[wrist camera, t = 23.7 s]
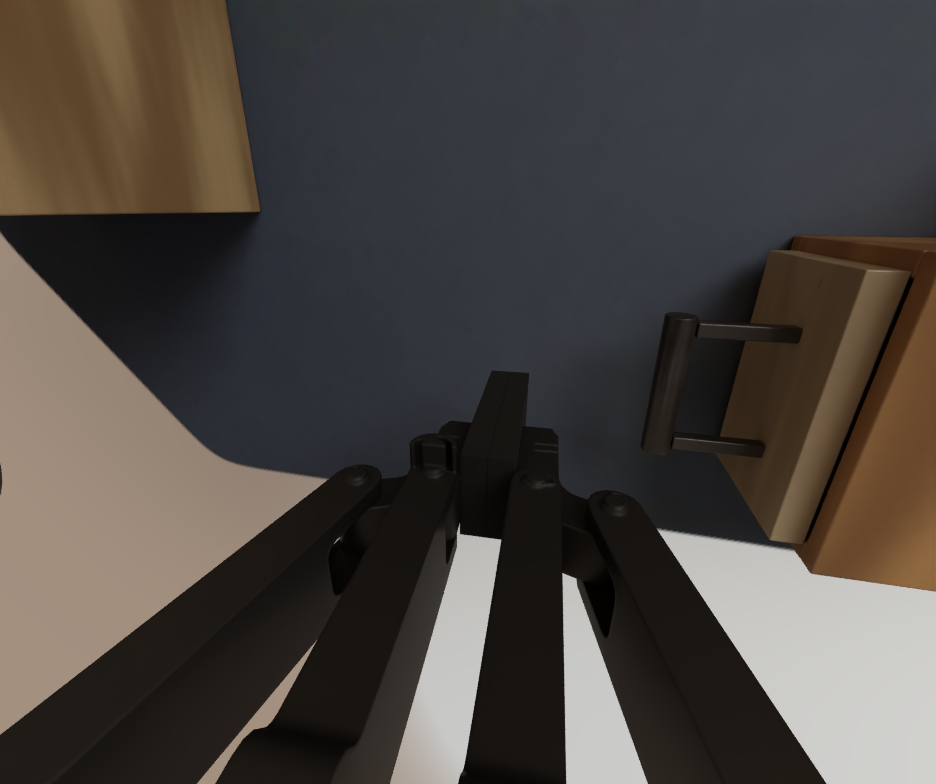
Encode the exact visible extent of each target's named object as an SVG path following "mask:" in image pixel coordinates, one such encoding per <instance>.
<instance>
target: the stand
mask: <svg viewBox="0 0 936 784" xmlns="http://www.w3.org/2000/svg"><path fill="white" fill-rule="evenodd" d="M232 212H260V206H259V200H258V194H257V188H256V182H255V176H254V170H253V164H252V157H251V151H250V145H249V139H248V133H247V127H246V121H245V115H244V109H243V103H242V97H241V91H240V85H239V79H238V73H237V67H236V61H235V55H234V49H233V43H232V37H231V31H230V25H229V18H228V12H227V6H226V0H0V216H12V215H85V214H158V213H232Z"/></svg>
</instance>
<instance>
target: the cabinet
mask: <svg viewBox="0 0 936 784" xmlns="http://www.w3.org/2000/svg"><path fill="white" fill-rule="evenodd" d="M790 251H803V252H809V253H814V254H820V255H825V256H831V257H836V258H842V259H847V260H853V261H858V262H864V263H869V264H875V265H880V266H886V267H891V268H897V269H902V270H908V271H911V275H910V278H914V280H913V283H912V285H911V288H910V290H909V293H908V295H907V298H906V300H905V303H904V305H903V308H902V310H901V313H900V315H899V317H898V320H897V322H896V325H895V327H894V330H893V332H892V335H891V337H890V340H889V342H888V345H887V347H886V350H885V352H884V355H883V357H882V359H881V362H880V364H879V367H878V369H877V372H876V374H875V377H874V379H873V382H872V384H871V387H870V389H869V392H868V394H867V397H866V399H865V401H864V404H863V406H862V409H861V411H860V414H859V416H858V419H857V421H856V424H855V426H854V429H853V431H852V434H851V436H850V439H849V441H848V444H847V446H846V448H845V451H844V453H843V456H842V458H841V461H840V463H839V466H838V468H837V471H836V473H835V476H834V478H833V481H832V483H831V486H830V488H829V490H828V493H827V495H826V498H825V500H824V503H823V505H821V504H820V502H819V505H818V507H817V510H816V512H815V515H814V517H813V520H812V522H811V525H810V527H809V530H808V532H807V535H806V537H805V540H804V542H803V544H795V543H790V544H791V546H792V547H793V549H794V550H795V552H796V553H797V554H798V556H799V557H800V558H801V560H802V561H803V563H804V564H805V566H806V567H807V569H808V570H809V572H810V573H812V574H817V575H824V576H832V577H838V578H845V579H852V580H860V581H866V582H874V583H880V584H887V585H895V586H901V587H908V588H916V589H922V590H929V591H936V238H924V237H872V236H819V235H796V236H795V237H794V240H793V243H792V247H791V250H790Z"/></svg>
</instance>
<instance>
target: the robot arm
mask: <svg viewBox="0 0 936 784" xmlns="http://www.w3.org/2000/svg"><path fill="white" fill-rule="evenodd" d="M528 380H529V373H518V372H504V371H492V372H491V374H490V377H489V379H488V382H487V385H486V387H485V390H484V392H483V395H482V398H481V400H480V403H479V406H478V408H477V411H476V413H475V416H474V419H473V421H472V423H468V422H457V421H450V422H448V423H447V424H445V425H444V426H442V427H441V429H440V431H439V433H438V434H425V435H421V436H418V437H416V438H414V439H413V440H412V441H411V442H410V461H411V469H410V471H409V473H408V474H407V475H406V476H403V477H397V478H386V479H382V476H381V472H380V471H379V470H378V469H377V468H375V467H373V466H369V465H354V466H350V467H347V468H344V469H343V470H341V471H339V472H337V473H336V474H335V475H334V476H332V477H331V478H330V479H328V480H327V481H326V482H325V483H323V484H322V485H321V486H320V487H318V488H317V489H316V490H314V491H313V492H312V493H311V494H309V495H308V496H307V497H306V498H304V499H303V500H302V501H300V502H299V503H298V504H296V505H295V506H294V507H293V508H291V509H290V510H289V511H287V512H286V513H285V514H284V515H282V516H281V517H280V518H279V519H277V520H276V521H275V522H274V523H272V524H271V525H269V526H268V527H267V528H266V529H264V530H263V531H262V532H260V533H259V534H258V535H257V536H256V537H254V538H253V539H251V540H250V541H249V542H248V543H246V544H245V545H244V546H242V547H241V548H240V549H239V550H237V551H236V552H235V553H234V554H232V555H231V556H230V557H228V558H227V559H226V560H224V561H223V562H222V563H221V564H219V565H218V566H217V567H215V568H214V569H213V570H212V571H210V572H209V573H208V574H207V575H205V576H204V577H203V578H201V579H200V580H199V581H198V582H196V583H195V584H194V585H192V586H191V587H190V588H188V589H187V590H186V591H185V592H183V593H182V594H181V595H179V596H178V597H177V598H176V599H174V600H173V601H172V602H170V603H169V604H168V605H167V606H165V607H164V608H163V609H162V610H160V611H159V612H158V613H156V614H155V615H154V616H152V617H151V618H150V619H149V620H148V621H146V622H145V623H143V624H142V625H141V626H140V627H138V628H137V629H136V630H134V631H133V632H132V633H131V634H130V635H128V636H127V637H125V638H124V639H123V640H122V641H120V642H119V643H118V644H116V645H115V646H114V647H113V648H112V649H110V650H109V651H108V652H106V653H105V654H104V655H102V656H101V657H100V658H99V659H97V660H96V661H95V662H94V663H92V664H91V665H89V666H88V667H87V668H86V669H84V670H83V671H82V672H80V673H79V674H78V675H77V676H75V677H74V678H73V679H71V680H70V681H69V682H68V683H66V684H65V685H64V686H63V687H61V688H60V689H59V690H57V691H56V692H55V693H53V694H52V695H51V696H50V697H48V698H47V699H46V700H44V701H43V702H42V703H41V704H39V705H38V706H37V707H36V708H34V709H33V710H32V711H30V712H29V713H28V714H27V715H25V716H24V717H23V718H22V719H20V720H19V721H18V722H16V723H15V724H14V725H12V726H11V727H10V728H9V729H7V730H6V731H5V732H3V733H2V734H1V735H0V784H197V783H198V782H199V780H200V779H201V778H202V777H203V776H204V774H205V773H206V772H207V771H208V769H209V768H210V767H211V766H212V765H213V764H214V762H215V761H216V760H217V759H218V758H219V756H220V755H221V754H222V753H223V752H224V750H225V749H226V748H227V747H228V746H229V744H230V743H231V742H232V741H233V740H234V738H235V737H236V736H237V735H238V734H239V732H240V731H241V730H242V729H243V728H244V726H245V725H246V724H247V723H248V722H249V720H250V719H251V718H252V717H253V716H254V715H255V713H256V712H257V711H258V710H259V709H260V707H261V706H262V705H263V704H264V703H265V701H266V700H267V699H268V698H269V697H270V695H271V694H272V693H273V692H274V691H275V689H276V688H277V687H278V686H279V685H280V683H281V682H282V681H283V680H284V678H285V677H286V676H287V675H288V674H289V673H290V671H291V670H292V669H293V668H294V667H295V665H296V664H297V663H298V661H300V659H301V658H302V657H303V656H304V655H305V653H306V652H307V651H308V650H309V649H310V647H311V646H312V645H313V644H314V643H315V641H316V640H317V639H318V640H317V641H316V643H315V645H314V647H313V649H312V651H311V653H310V654H309V656H308V658H307V660H306V662H305V663H304V665H303V667H302V669H301V671H300V673H299V674H298V676H297V678H296V680H295V682H294V684H293V686H292V688H291V689H290V691H289V693H288V695H287V697H286V698H285V700H284V702H283V704H282V706H281V708H280V709H279V711H278V713H277V715H276V716H275V718H274V719H273V721H272V722H271V723H270V724H269V725H268V726H267V727H265V728H260V729H255V730H253V731H252V732H251V733H249V735H247V736H246V737H245V738H244V739H243V740H242V742H241V743H240V744H239V746H238V747H237V749H236V750H235V752H234V753H233V755H232V756H231V758H230V760H229V761H228V763H227V765H226V766H225V768H224V770H223V771H222V773H221V775H220V777H219V778H218V780H217V782H216V783H215V784H390V781H391V777H392V774H393V770H394V767H395V763H396V760H397V756H398V752H399V749H400V745H401V742H402V738H403V735H404V731H405V728H406V724H407V721H408V717H409V714H410V710H411V707H412V703H413V700H414V696H415V692H416V689H417V685H418V682H419V678H420V675H421V671H422V668H423V664H424V661H425V657H426V653H427V650H428V647H429V643H430V640H431V636H432V633H433V629H434V625H435V622H436V618H437V615H438V611H439V608H440V604H441V600H442V597H443V594H444V590H445V587H446V583H447V580H448V576H449V572H450V569H451V565H452V562H453V558H454V554H455V551H456V548H457V530H458V527H459V523H460V534H464V535H472V536H479V537H486V538H494V539H501V546H500V552H499V559H498V564H497V571H496V578H495V583H494V589H493V595H492V601H491V607H490V614H489V620H488V626H487V632H486V638H485V644H484V650H483V656H482V663H481V669H480V675H479V681H478V687H477V694H476V700H475V706H474V712H473V718H472V724H471V731H470V736H469V743H468V749H467V755H466V760H465V765H464V769H463V772H462V773H461V775H460V778H459V783H458V784H566V753H565V696H564V643H563V585H562V573H564V574H567V575H569V576H571V577H574V578H576V579H577V586H578V589H579V591H580V595H581V597H582V600H583V603H584V606H585V609H586V612H587V614H588V617H589V620H590V622H591V625H592V628H593V631H594V634H595V637H596V639H597V642H598V645H599V648H600V650H601V654H602V656H603V659H604V662H605V664H606V668H607V670H608V673H609V676H610V678H611V681H612V684H613V687H614V690H615V693H616V696H617V698H618V701H619V704H620V707H621V709H622V712H623V715H624V718H625V721H626V724H627V726H628V729H629V732H630V735H631V737H632V740H633V743H634V746H635V749H636V751H637V754H638V757H639V760H640V763H641V766H642V768H643V771H644V774H645V776H646V779H647V782H648V784H826V783H825V781H824V779H823V778H822V777H821V775H820V774H819V772H818V770H817V769H816V768H815V766H814V764H813V763H812V761H811V760H810V758H809V757H808V756H807V754H806V752H805V751H804V749H803V748H802V746H801V745H800V743H799V742H798V740H797V739H796V737H795V736H794V734H793V733H792V731H791V730H790V729H789V727H788V726H787V724H786V722H785V721H784V719H783V718H782V716H781V715H780V714H779V712H778V711H777V709H776V707H775V706H774V704H773V703H772V702H771V700H770V699H769V697H768V696H767V694H766V692H765V691H764V689H763V688H762V686H761V685H760V684H759V682H758V680H757V679H756V678H755V676H754V674H753V673H752V671H751V670H750V668H749V667H748V665H747V664H746V662H745V661H744V659H743V658H742V657H741V655H740V653H739V652H738V650H737V649H736V647H735V646H734V644H733V643H732V641H731V640H730V638H729V637H728V636H727V634H726V632H725V631H724V629H723V628H722V626H721V625H720V623H719V622H718V620H717V619H716V617H715V616H714V614H713V613H712V611H711V610H710V608H709V607H708V605H707V604H706V602H705V601H704V599H703V598H702V596H701V595H700V593H699V592H698V591H697V589H696V587H695V586H694V584H693V583H692V581H691V580H690V578H689V577H688V575H687V574H686V573H685V571H684V569H683V568H682V566H681V565H680V563H679V562H678V561H677V559H676V557H675V556H674V555H673V553H672V551H671V550H670V548H669V547H668V546H667V544H666V542H665V541H664V539H663V538H662V536H661V535H660V533H659V532H658V530H657V529H656V527H655V526H654V524H653V523H652V521H651V520H650V518H649V517H648V515H647V514H646V512H645V511H644V509H643V508H642V506H641V505H640V504H639V503H638V502H637V501H636V500H635V499H634V498H632V497H630V496H628V495H627V494H624V493H621V492H617V491H609V490H604V491H598V492H595V493H593V494H592V495H590V497H589V499H588V500H587V499H584V498H581V497H578V496H576V495H573V494H571V493H570V492H568V491H567V490H565V489H564V488H563V487H562V485H561V484H560V481H559V473H558V436H557V435H556V434H555V432H554V431H553V430H552V429H547V428H536V427H525V426H526V410H527V395H528ZM339 537H340V539H339V540H338V541H337V542H336V543H335V541H336V540H337V539H338V538H339ZM334 543H335V544H334Z"/></svg>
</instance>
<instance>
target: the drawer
mask: <svg viewBox="0 0 936 784" xmlns="http://www.w3.org/2000/svg"><path fill="white" fill-rule="evenodd" d="M910 275H911V271H908V270H902V269H897V268H891V267H886V266H880V265H875V264H869V263H864V262H858V261H853V260H847V259H842V258H836V257H831V256H825V255H820V254H814V253H809V252H803V251H789V250H770V252H769V256H768V259H767V263H766V267H765V270H764V274H763V278H762V282H761V285H760V289H759V293H758V296H757V300H756V304H755V307H754V311H753V315H752V319H751V322H750V323H743V322H724V321H705V320H698V319H699V318H698V317H697V316H696V315H693V314H688V313H679V312H672V313H667V314H666V315H665V318H664V323H663V329H662V334H661V339H660V344H659V350H658V355H657V360H656V365H655V371H654V376H653V381H652V387H651V392H650V397H649V402H648V408H647V413H646V418H645V423H644V429H643V434H642V439H641V448H642V449H643V450H644V451H646V452H648V453H650V454H654V455H665V454H667V453H668V452H669V450H670V446H671V448H672V449H677V450H687V451H697V452H706V453H716V455H717V456H718V458H719V460H720V461H721V463H722V464H723V466H724V468H725V469H726V471H727V472H728V474H729V476H730V477H731V479H732V481H733V482H734V484H735V485H736V487H737V489H738V490H739V492H740V493H741V495H742V497H743V498H744V500H745V501H746V503H747V505H748V506H749V508H750V509H751V511H752V513H753V514H754V516H755V517H756V519H757V521H758V522H759V524H760V525H761V527H762V529H763V530H764V532H765V534H766V535H767V537H768V538H769V540H772V541H780V542H788V543H795V544H803V542H804V540H805V537H806V535H807V532H808V530H809V527H810V525H811V522H812V520H813V517H814V515H815V512H816V510H817V507H818V505H819V502H820V504H821V505H823V503H824V500H825V498H826V495H827V493H828V490H829V488H830V486H831V483H832V481H833V478H834V476H835V473H836V471H837V468H838V466H839V463H840V461H841V458H842V456H843V453H844V451H845V448H846V446H847V444H848V441H849V439H850V436H851V434H852V431H853V429H854V426H855V424H856V421H857V419H858V416H859V414H860V411H861V409H862V406H863V404H864V401H865V399H866V397H867V394H868V392H869V389H870V387H871V384H872V382H873V379H874V377H875V374H876V372H877V369H878V367H879V364H880V362H881V359H882V357H883V355H884V352H885V350H886V347H887V345H888V342H889V340H890V337H891V335H892V332H893V330H894V327H895V325H896V322H897V320H898V317H899V315H900V313H901V310H902V308H903V305H904V303H905V300H906V298H907V295H908V293H909V290H910V288H911V285H912V283H913V280H914V278H910ZM694 337H697V338H708V339H725V340H741V341H745V345H744V348H743V352H742V356H741V359H740V363H739V367H738V370H737V374H736V378H735V382H734V385H733V389H732V393H731V396H730V400H729V404H728V408H727V411H726V415H725V419H724V422H723V426H722V430H721V433H720V436H711V435H701V434H690V433H680V432H674V428H675V423H676V419H677V414H678V410H679V405H680V401H681V396H682V391H683V387H684V382H685V378H686V373H687V369H688V364H689V360H690V355H691V351H692V346H693V342H694Z"/></svg>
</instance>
